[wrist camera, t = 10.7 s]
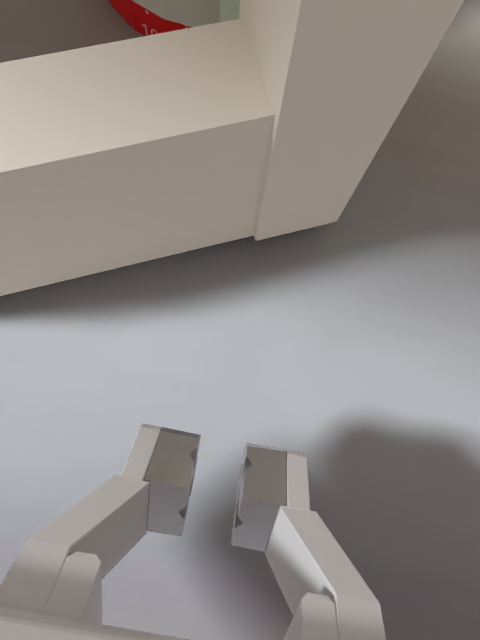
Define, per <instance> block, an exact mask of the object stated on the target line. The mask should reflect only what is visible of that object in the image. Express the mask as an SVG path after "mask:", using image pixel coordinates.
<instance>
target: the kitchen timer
mask: <svg viewBox="0 0 480 640" xmlns="http://www.w3.org/2000/svg"><path fill="white" fill-rule="evenodd" d="M109 2H110V4H111V5H112V6H113V7H114V8H115V9H116V10H117V11H118V12H119V13H120V14H121V15H122V16H123V18H124V19H125V20H126V21H127V22H128V23H129V24H130V25H131V26H132V27H133V28H134V29H135V30H136V31H138V32H139V33H141V34H143V35H145V36H148V35H154V34H159V33H165V32H170V31H176V30H181V29H186V28H192V27H197V26H203V25H208V24H214V23H219V22H220V0H109Z"/></svg>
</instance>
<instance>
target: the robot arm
mask: <svg viewBox="0 0 480 640" xmlns="http://www.w3.org/2000/svg"><path fill="white" fill-rule="evenodd" d="M200 437H201V435H198V434H193V433H188V432H184V431H179V430H174V429H169V428H164V427H158V426H153V425H148V424H142V425H141V426H140V428H139V430H138V432H137V435H136V437H135V440H134V442H133V445H132V447H131V450H130V452H129V455H128V457H127V460H126V462H125V465H124V467H123V470H122V472H121V475H120V476H112V477H111V478H110V479H108V480H107V481H106V482H104V483H103V484H102V485H100V486H99V487H97V488H96V489H95V490H93V491H92V492H91V493H89V494H88V495H87V496H85V497H84V498H82V499H81V500H80V501H78V502H77V503H76V504H74V505H73V506H71V507H70V508H69V509H67V510H66V511H65V512H63V513H62V514H61V515H59V516H58V517H56V518H55V519H54V520H52V521H51V522H50V523H48V524H47V525H46V526H44V527H43V528H41V529H40V530H39V531H37V532H36V533H35V534H33V535H32V536H30V537H29V538H28V539H26V540H25V542H24V544H23V546H22V548H21V550H20V551H19V553H18V555H17V557H16V559H15V561H14V562H13V564H12V566H11V568H10V570H9V571H8V573H7V575H6V577H5V579H4V581H3V582H2V584H1V586H0V640H188V639H183V638H177V637H171V636H166V635H160V634H154V633H149V632H143V631H137V630H132V629H126V628H120V627H115V626H109V625H103V624H101V623H102V585H101V580H102V579H103V578H104V577H105V576H106V575H107V574H108V573H109V572H110V571H111V570H112V569H113V567H114V566H115V565H116V564H117V563H118V562H119V561H120V560H121V559H122V558H123V557H124V556H125V555H126V554H127V553H128V552H129V551H130V550H131V549H132V548H133V547H134V546H135V545H136V543H137V542H138V541H139V540H140V539H141V538H142V537H143V536H144V535H145V534H146V531H150V532H156V533H163V534H170V535H177V536H182V531H183V527H184V522H185V518H186V513H187V508H188V502H189V496H190V495H191V490H192V486H193V481H194V476H195V470H196V464H197V458H198V457H197V455H198V450H199V445H200ZM235 504H236V510H235V514H234V518H233V527H232V536H231V545H233V546H238V547H243V548H248V549H253V550H257V551H262V552H265V556H266V558H267V560H268V562H269V564H270V567H271V569H272V571H273V573H274V576H275V578H276V580H277V582H278V584H279V587H280V589H281V591H282V593H283V595H284V598H285V600H286V602H287V604H288V606H289V609H290V611H291V613H292V615H293V619H292V621H291V623H290V626H289V628H288V630H287V632H286V634H285V636H284V639H283V640H386V636H385V630H384V624H383V619H382V613H381V607H380V603H379V602H378V600H377V599H376V597H375V596H374V594H373V593H372V591H371V590H370V589H369V587H368V586H367V584H366V583H365V581H364V580H363V578H362V577H361V576H360V574H359V573H358V571H357V570H356V568H355V567H354V565H353V564H352V562H351V561H350V560H349V558H348V557H347V555H346V554H345V552H344V551H343V549H342V548H341V547H340V545H339V544H338V542H337V541H336V539H335V538H334V536H333V535H332V533H331V532H330V531H329V529H328V528H327V526H326V525H325V523H324V522H323V520H322V519H321V517H320V516H319V515H318V513H317V512H315V511H311V510H310V493H309V477H308V461H307V455H306V453H304V452H298V451H292V450H285V449H281V448H275V447H269V446H263V445H257V444H251V443H247V444H246V447H245V451H244V458H243V464H242V465H241V469H240V474H239V479H238V484H237V492H236V500H235Z"/></svg>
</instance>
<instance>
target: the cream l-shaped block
mask: <svg viewBox="0 0 480 640" xmlns="http://www.w3.org/2000/svg"><path fill="white" fill-rule="evenodd" d="M464 1H465V0H240V12H239V19H235V20H230V21H224V22H219V23H214V24H208V25H203V26H197V27H192V28H186V29H181V30H176V31H170V32H165V33H159V34H154V35H148V36H143V37H137V38H132V39H127V40H121V41H116V42H110V43H105V44H99V45H94V46H89V47H83V48H78V49H72V50H67V51H61V52H56V53H51V54H45V55H40V56H34V57H29V58H23V59H18V60H13V61H7V62H2V63H0V296H3V295H7V294H11V293H16V292H20V291H24V290H28V289H32V288H36V287H41V286H45V285H49V284H53V283H57V282H61V281H66V280H70V279H74V278H78V277H82V276H87V275H91V274H95V273H99V272H103V271H107V270H112V269H116V268H120V267H124V266H128V265H133V264H137V263H141V262H145V261H149V260H153V259H158V258H162V257H166V256H170V255H174V254H178V253H183V252H187V251H191V250H195V249H199V248H204V247H208V246H212V245H216V244H220V243H224V242H229V241H233V240H237V239H241V238H245V237H250V236H254V239H255V241H258V240H262V239H266V238H270V237H274V236H279V235H283V234H287V233H291V232H295V231H299V230H303V229H308V228H312V227H316V226H320V225H324V224H328V223H333V222H337V220H338V219H339V217H340V215H341V213H342V212H343V210H344V208H345V206H346V205H347V203H348V201H349V200H350V198H351V196H352V194H353V193H354V191H355V189H356V187H357V186H358V184H359V182H360V181H361V179H362V177H363V175H364V174H365V172H366V170H367V168H368V167H369V165H370V163H371V162H372V160H373V158H374V156H375V155H376V153H377V151H378V149H379V148H380V146H381V144H382V142H383V141H384V139H385V137H386V136H387V134H388V132H389V130H390V129H391V127H392V125H393V123H394V122H395V120H396V118H397V117H398V115H399V113H400V111H401V110H402V108H403V106H404V104H405V103H406V101H407V99H408V98H409V96H410V94H411V92H412V91H413V89H414V87H415V85H416V84H417V82H418V80H419V79H420V77H421V75H422V73H423V72H424V70H425V68H426V66H427V65H428V63H429V61H430V60H431V58H432V56H433V54H434V53H435V51H436V49H437V47H438V46H439V44H440V42H441V40H442V39H443V37H444V35H445V34H446V32H447V30H448V28H449V27H450V25H451V23H452V21H453V20H454V18H455V16H456V15H457V13H458V11H459V9H460V8H461V6H462V4H463V2H464Z"/></svg>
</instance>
